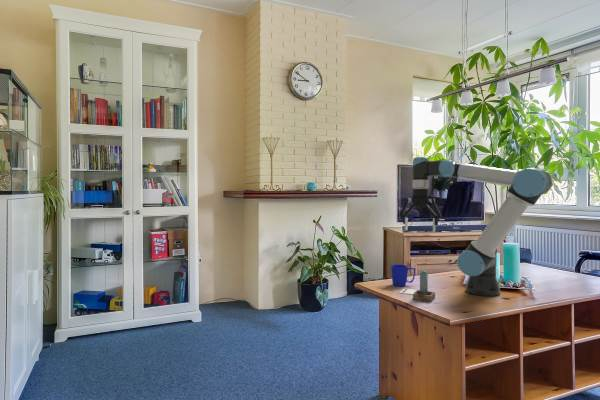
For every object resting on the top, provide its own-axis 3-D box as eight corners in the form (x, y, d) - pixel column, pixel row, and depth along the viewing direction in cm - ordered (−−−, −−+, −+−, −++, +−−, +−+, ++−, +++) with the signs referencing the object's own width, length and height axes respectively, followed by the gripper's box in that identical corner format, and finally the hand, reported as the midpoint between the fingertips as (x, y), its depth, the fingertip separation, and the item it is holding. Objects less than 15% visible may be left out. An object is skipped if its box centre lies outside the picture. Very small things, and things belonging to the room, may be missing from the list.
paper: (433, 292, 190) (433, 291, 190) (429, 296, 182) (429, 296, 182) (404, 289, 197) (404, 288, 197) (399, 293, 189) (399, 292, 189)
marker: (428, 296, 180) (428, 270, 180) (427, 298, 177) (427, 272, 177) (420, 296, 181) (420, 270, 181) (419, 297, 178) (419, 271, 178)
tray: (434, 297, 180) (435, 292, 180) (431, 302, 173) (431, 296, 173) (417, 295, 184) (417, 289, 184) (412, 299, 177) (413, 293, 177)
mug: (415, 287, 199) (416, 268, 199) (391, 286, 202) (391, 267, 202) (414, 284, 207) (414, 265, 207) (390, 283, 210) (391, 264, 210)
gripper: (448, 188, 194) (447, 231, 194) (397, 188, 206) (397, 229, 206) (445, 188, 187) (445, 233, 188) (393, 188, 199) (393, 230, 200)
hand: (419, 231), depth 197 cm, fingers open, 13 cm apart
